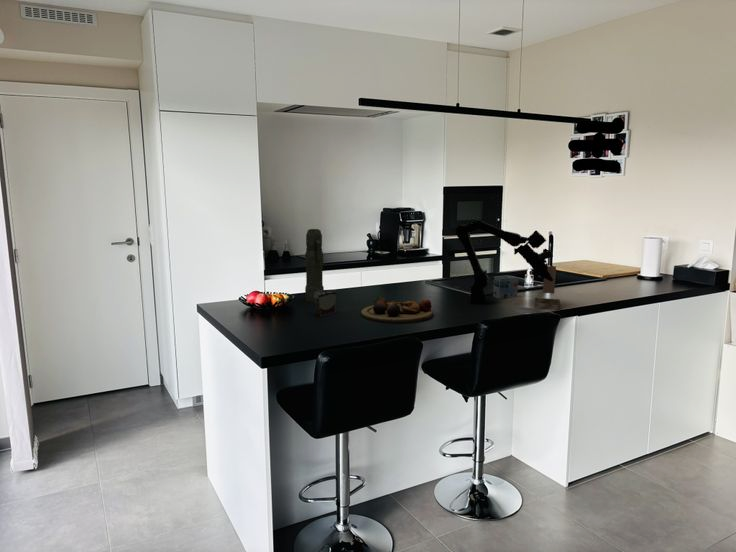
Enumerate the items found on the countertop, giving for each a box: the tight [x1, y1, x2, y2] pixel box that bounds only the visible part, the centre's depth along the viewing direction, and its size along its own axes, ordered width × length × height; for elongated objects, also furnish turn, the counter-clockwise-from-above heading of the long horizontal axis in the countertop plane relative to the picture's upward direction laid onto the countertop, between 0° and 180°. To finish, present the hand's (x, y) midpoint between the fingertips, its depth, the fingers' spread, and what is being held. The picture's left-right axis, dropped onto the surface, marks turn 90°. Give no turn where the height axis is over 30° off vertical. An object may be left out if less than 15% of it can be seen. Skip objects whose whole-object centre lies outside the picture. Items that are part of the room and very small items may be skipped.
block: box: [542, 265, 557, 294], centre depth 262 cm, size 5×5×12 cm
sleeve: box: [534, 297, 561, 311], centre depth 265 cm, size 11×14×3 cm
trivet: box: [513, 307, 539, 314], centre depth 256 cm, size 11×11×1 cm
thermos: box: [304, 228, 325, 304], centre depth 272 cm, size 9×12×35 cm
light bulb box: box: [492, 275, 519, 300], centre depth 286 cm, size 11×7×11 cm, turn 105°
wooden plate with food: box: [360, 296, 434, 324], centre depth 248 cm, size 32×32×8 cm
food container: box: [314, 289, 338, 317], centre depth 249 cm, size 12×6×10 cm, turn 141°
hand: (552, 279), depth 262 cm, fingers closed on block, 5 cm apart
